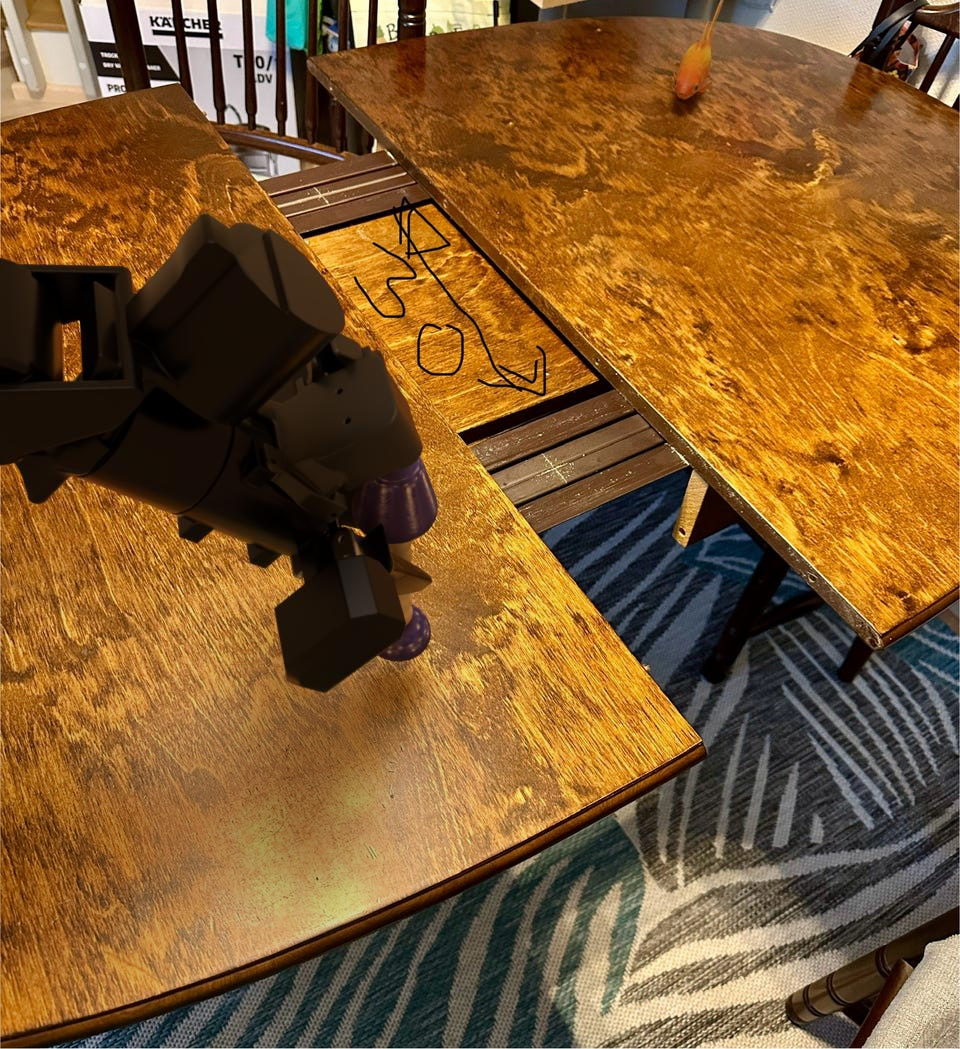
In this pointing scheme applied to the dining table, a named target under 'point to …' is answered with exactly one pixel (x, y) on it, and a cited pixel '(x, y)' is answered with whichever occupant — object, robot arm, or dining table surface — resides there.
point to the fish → (696, 64)
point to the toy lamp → (400, 538)
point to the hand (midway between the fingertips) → (418, 556)
